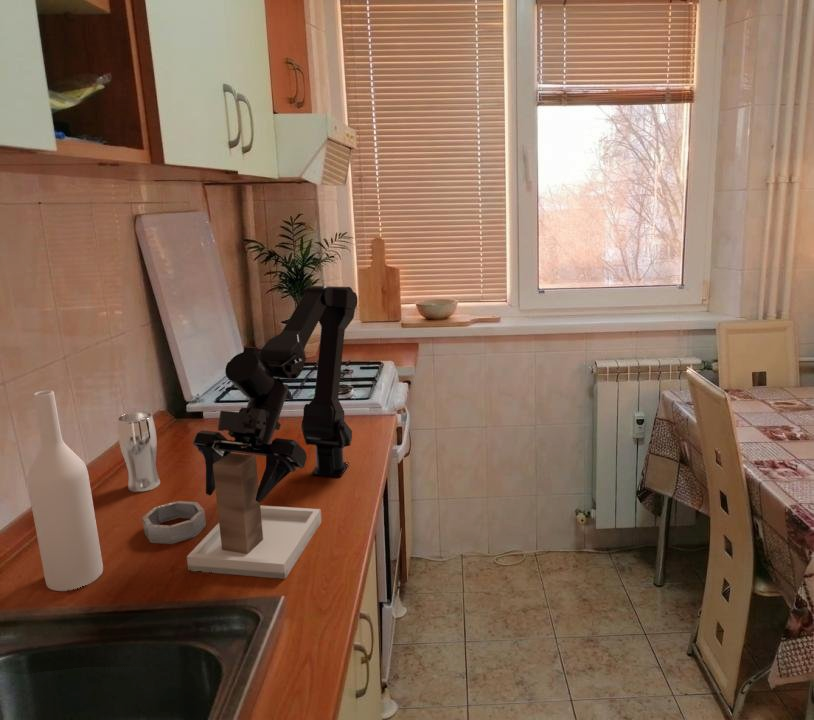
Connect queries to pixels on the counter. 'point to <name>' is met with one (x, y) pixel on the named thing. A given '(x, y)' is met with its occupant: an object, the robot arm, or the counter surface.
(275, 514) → the tray
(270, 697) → the counter surface
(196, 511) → the grey octagonal ring
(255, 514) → the walnut block
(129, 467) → the beer glass
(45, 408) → the bottle
